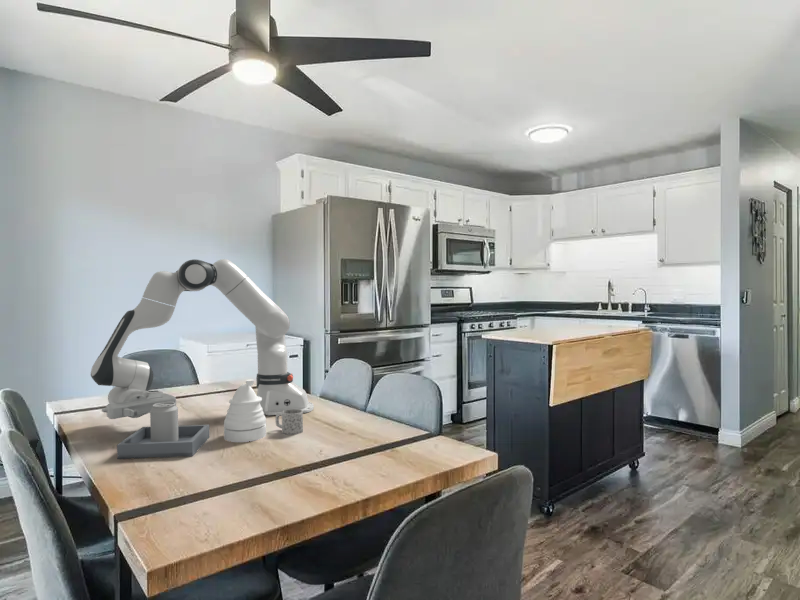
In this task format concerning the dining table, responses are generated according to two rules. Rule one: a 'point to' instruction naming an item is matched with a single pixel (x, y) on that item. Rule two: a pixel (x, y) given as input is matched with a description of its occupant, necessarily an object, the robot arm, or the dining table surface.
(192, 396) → the dining table surface
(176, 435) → the can
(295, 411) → the mug
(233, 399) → the honey pot
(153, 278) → the robot arm
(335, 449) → the dining table surface
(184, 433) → the tray
